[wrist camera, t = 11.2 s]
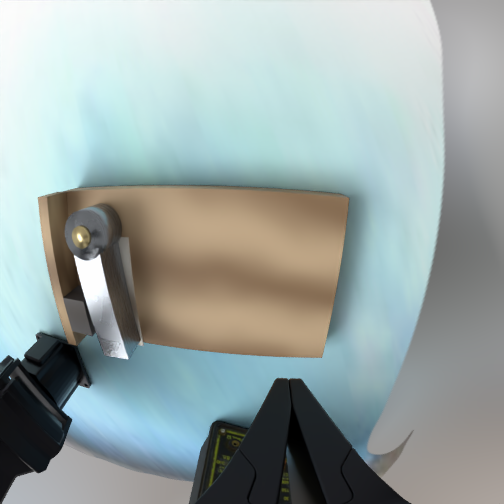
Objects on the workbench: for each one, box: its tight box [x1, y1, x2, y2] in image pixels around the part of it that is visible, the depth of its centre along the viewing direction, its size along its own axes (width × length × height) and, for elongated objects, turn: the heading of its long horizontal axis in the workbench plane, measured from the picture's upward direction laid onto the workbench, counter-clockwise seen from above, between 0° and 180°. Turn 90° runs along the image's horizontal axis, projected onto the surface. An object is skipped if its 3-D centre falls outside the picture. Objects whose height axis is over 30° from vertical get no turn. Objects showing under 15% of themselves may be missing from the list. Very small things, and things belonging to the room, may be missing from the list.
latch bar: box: [65, 203, 141, 359], centre depth 17 cm, size 11×3×3 cm, turn 2°
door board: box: [38, 185, 349, 358], centre depth 18 cm, size 12×20×4 cm, turn 87°
